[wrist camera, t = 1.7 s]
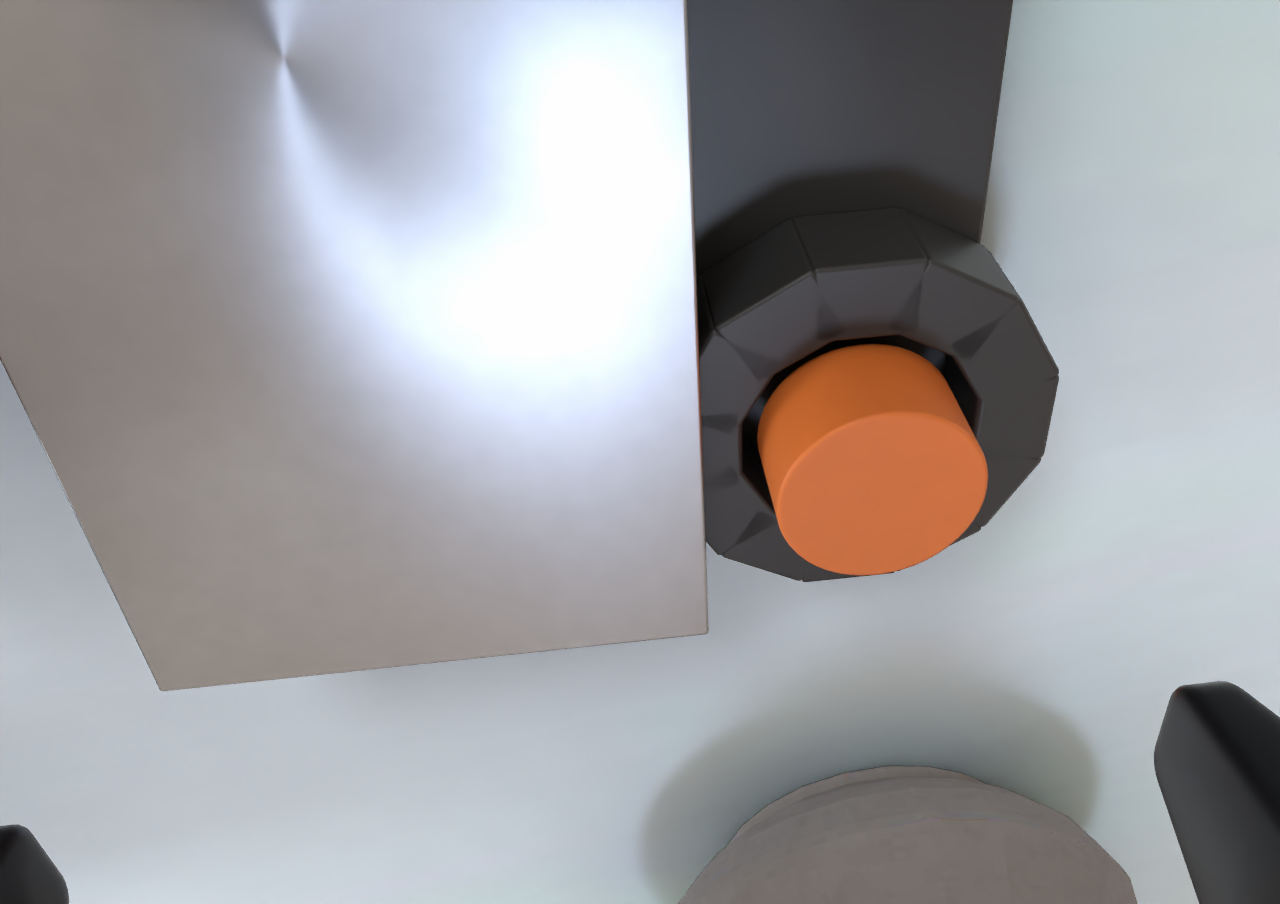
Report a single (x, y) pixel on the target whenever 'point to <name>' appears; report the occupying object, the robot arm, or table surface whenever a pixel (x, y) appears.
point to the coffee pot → (910, 847)
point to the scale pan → (361, 321)
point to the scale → (850, 231)
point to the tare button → (870, 460)
